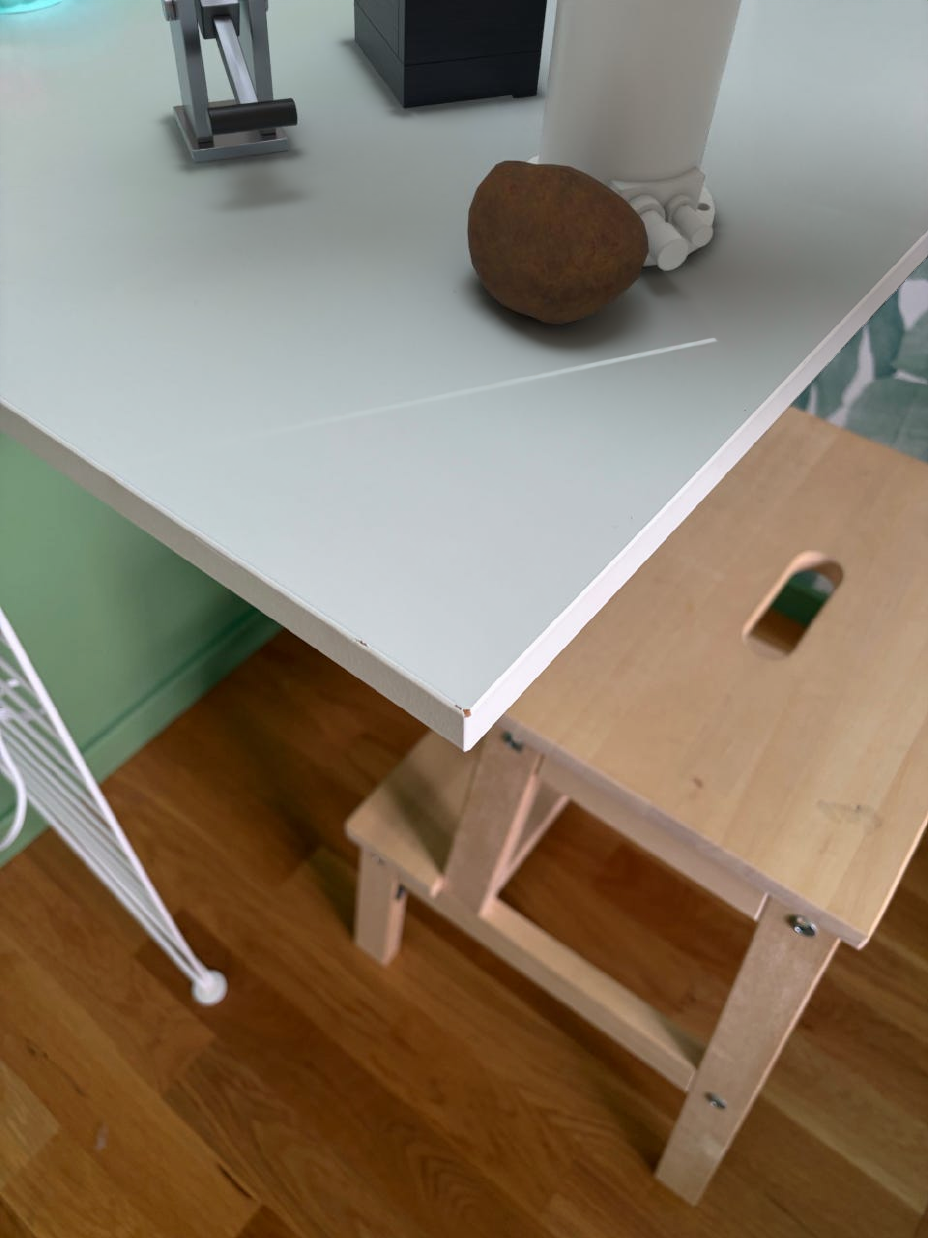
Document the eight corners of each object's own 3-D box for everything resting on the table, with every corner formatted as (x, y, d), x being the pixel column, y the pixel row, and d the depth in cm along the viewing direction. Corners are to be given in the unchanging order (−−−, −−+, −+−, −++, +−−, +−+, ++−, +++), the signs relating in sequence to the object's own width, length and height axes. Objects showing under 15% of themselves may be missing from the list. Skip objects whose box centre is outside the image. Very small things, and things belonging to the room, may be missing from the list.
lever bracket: (288, 153, 66) (276, -16, 58) (195, 166, 64) (169, -7, 56) (264, 110, 69) (249, -56, 61) (175, 121, 67) (148, -48, 60)
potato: (485, 252, 60) (497, 117, 54) (647, 297, 58) (678, 162, 52) (437, 321, 56) (444, 182, 49) (610, 371, 54) (639, 233, 48)
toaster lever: (296, 136, 60) (298, 106, 58) (212, 147, 59) (210, 116, 57) (250, -4, 62) (250, -38, 60) (167, 3, 61) (164, -32, 59)
